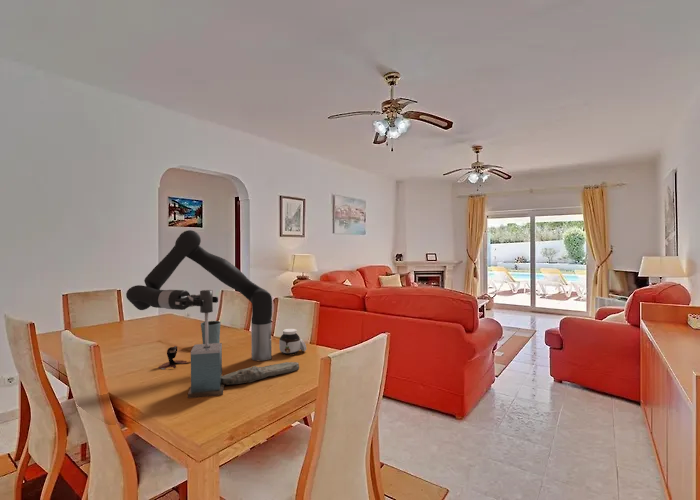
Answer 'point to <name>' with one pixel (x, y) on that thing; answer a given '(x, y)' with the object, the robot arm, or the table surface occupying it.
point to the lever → (206, 309)
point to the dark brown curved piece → (171, 354)
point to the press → (206, 371)
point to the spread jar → (291, 342)
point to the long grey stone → (258, 373)
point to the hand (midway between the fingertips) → (210, 301)
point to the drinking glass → (211, 332)
